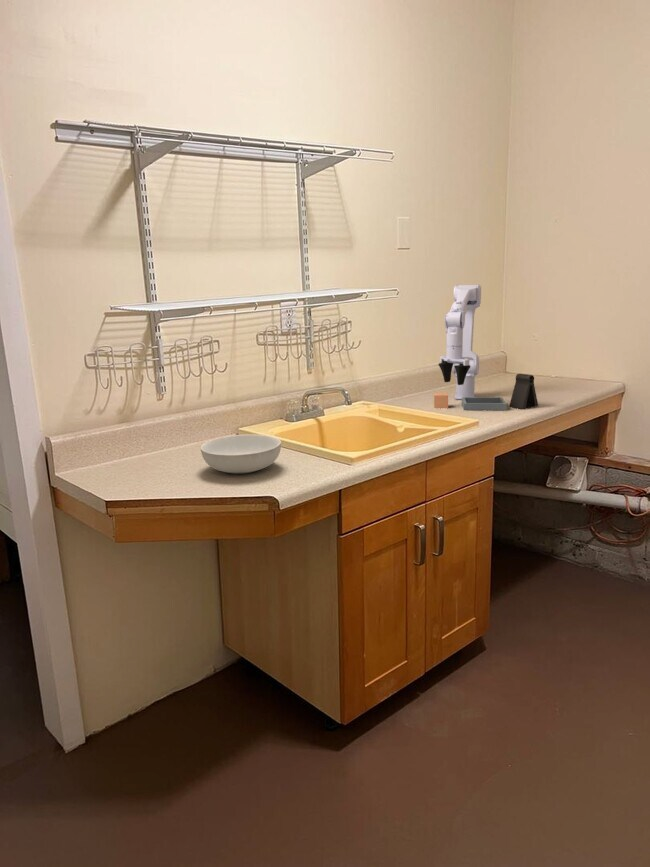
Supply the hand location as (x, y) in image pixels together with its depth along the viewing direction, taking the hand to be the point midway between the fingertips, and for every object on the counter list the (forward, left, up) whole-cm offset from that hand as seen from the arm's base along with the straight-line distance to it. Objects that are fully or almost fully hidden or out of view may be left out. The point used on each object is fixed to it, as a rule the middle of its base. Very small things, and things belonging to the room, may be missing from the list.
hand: (453, 383), depth 239 cm
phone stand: (-4, +26, -10) cm, 28 cm away
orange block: (-4, -4, -10) cm, 11 cm away
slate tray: (-4, +11, -10) cm, 15 cm away
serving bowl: (+80, -58, -10) cm, 99 cm away
